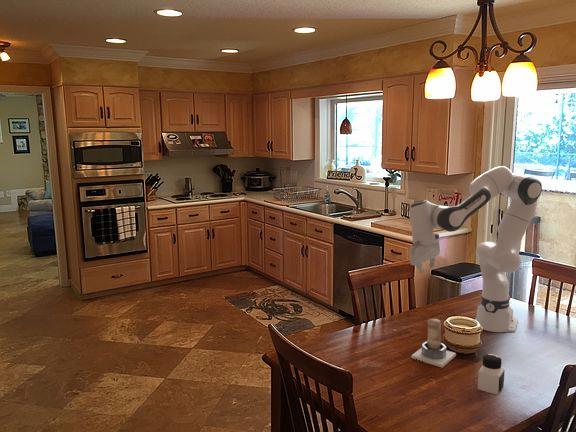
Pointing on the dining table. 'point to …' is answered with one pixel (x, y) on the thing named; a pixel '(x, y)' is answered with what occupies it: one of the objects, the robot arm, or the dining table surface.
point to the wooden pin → (434, 334)
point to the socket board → (434, 362)
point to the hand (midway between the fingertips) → (426, 270)
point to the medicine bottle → (491, 374)
